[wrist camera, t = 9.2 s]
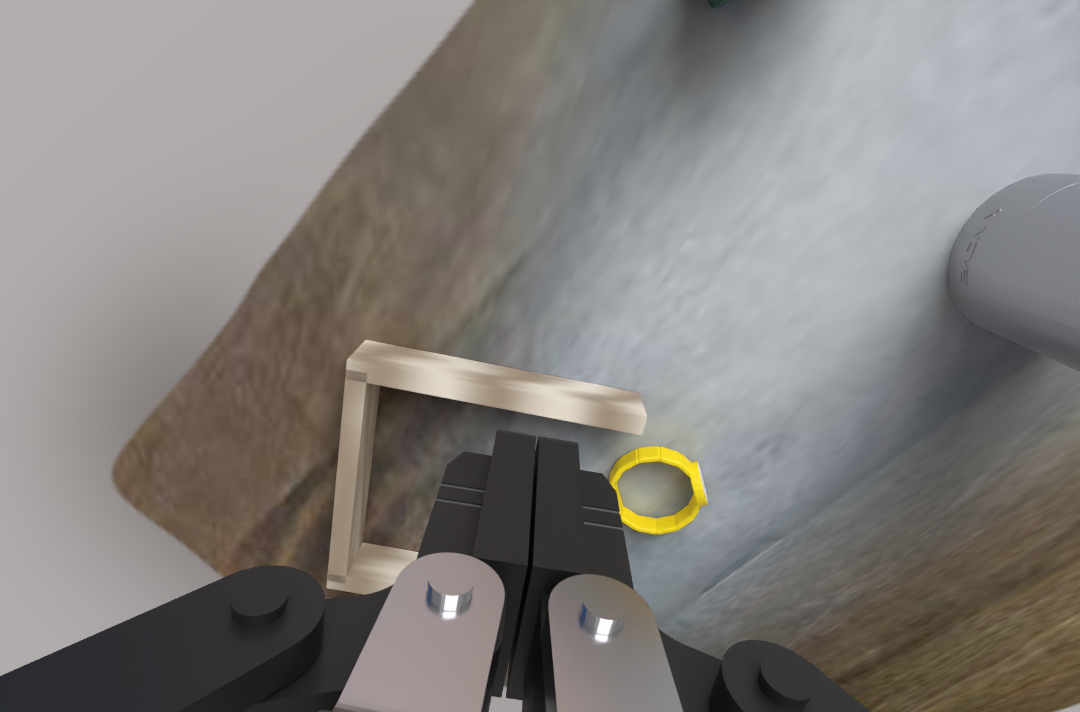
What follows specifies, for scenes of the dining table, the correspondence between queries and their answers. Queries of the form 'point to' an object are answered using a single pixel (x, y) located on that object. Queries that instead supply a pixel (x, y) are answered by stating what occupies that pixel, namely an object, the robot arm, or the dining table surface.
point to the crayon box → (716, 3)
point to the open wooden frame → (452, 379)
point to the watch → (667, 522)
